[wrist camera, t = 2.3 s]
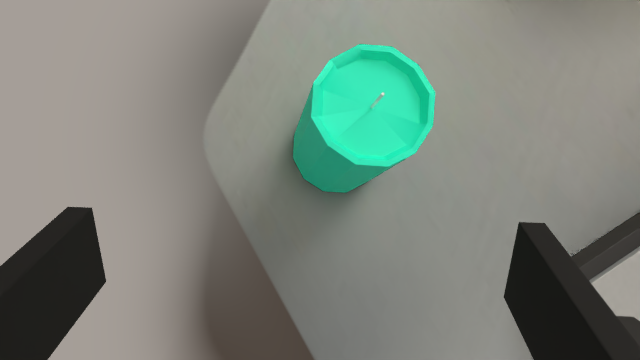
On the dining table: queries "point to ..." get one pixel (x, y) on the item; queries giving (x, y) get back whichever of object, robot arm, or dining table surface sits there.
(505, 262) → the dining table surface
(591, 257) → the scale
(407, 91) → the candle
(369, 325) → the dining table surface
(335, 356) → the dining table surface
